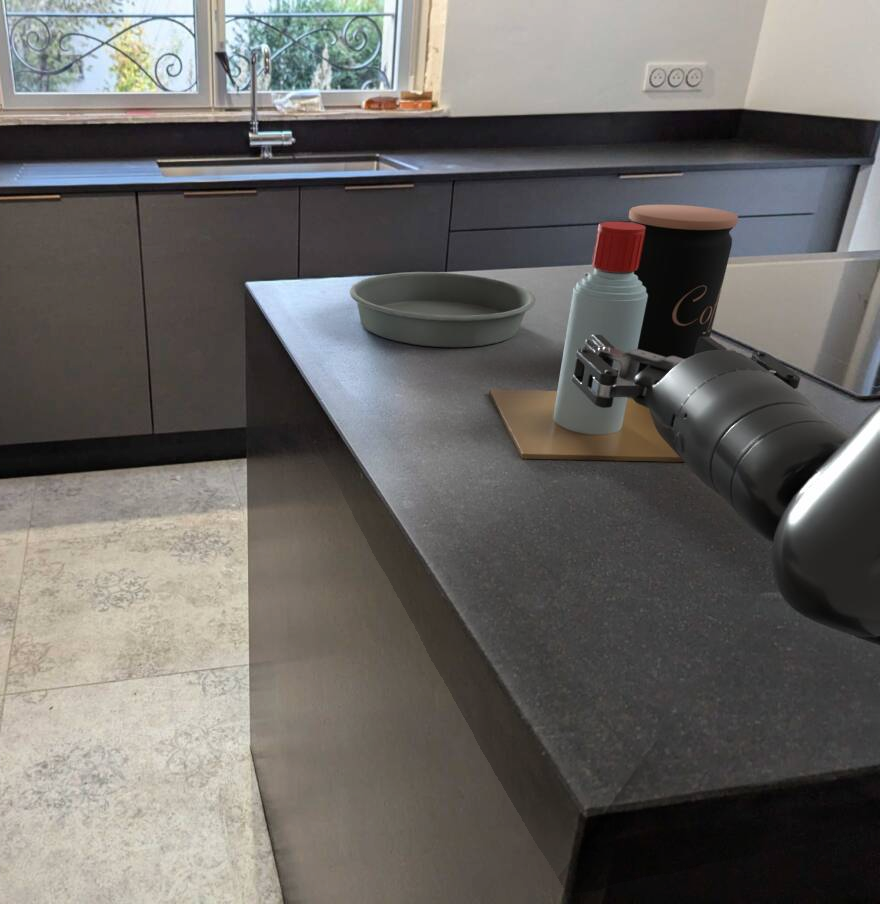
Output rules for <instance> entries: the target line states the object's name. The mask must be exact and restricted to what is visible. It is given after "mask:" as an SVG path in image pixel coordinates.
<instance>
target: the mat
mask: <svg viewBox="0 0 880 904" xmlns="http://www.w3.org/2000/svg"><path fill="white" fill-rule="evenodd" d="M488 395H489V396H490V399H491V400H492V403H493V404H494V405H493V406H495V408H496V410H497V413H498V414H499V417H500V418H501V420H502V422H503V425H504V426H505V428H506V430H507V432H508V434H509V436H510V438H511V440H512V443H513V444H514V446H515V448H516V449H517V452H518V454H519V456H520V457H521V459H522V460H524V459H525V460H526V459H527V460H528V459H529V460H570V461H571V460H572V461H574V460H575V461H577V460H578V461H617V462H618V461H621V462H623V461H624V462H669V463H673V462H674V463H676V462H677V463H685V462H684V461H683V460H682V459H681V458H680V457H679V456H678V454H677V453H676V452H675V451H674V450H673V449H672V448H671V447H670V446H669V445H668V443H667V442H666V441H665V440H664V439H663V438H662V437H661V436H660V434H659V433H658V431H657V429H656V427H655V425H654V422H653V419H652V417H651V414H650V411H649V409H648V408H647V407H645V406H643V405H640V404H638V403H636V402H635V401H634V400H633V399H630V398H627V403H626V408H625V413H624V418H623V423H622V427H621V429H620V430H619V431H617V432H615V433H611V434H605V435H592V434H584V433H578V432H574V431H571V430H568V429H566V428H563V427H561V426H560V425H558V424H557V423H556V422H555V421H554V419H553V416H554V409H555V403H556V397H557V390H521V389H520V390H518V389H517V390H516V389H489V390H488Z"/></svg>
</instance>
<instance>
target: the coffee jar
mask: <svg viewBox="0 0 880 904" xmlns="http://www.w3.org/2000/svg"><path fill="white" fill-rule="evenodd" d="M628 218H629V219H630V223H636V224H640V225H643V226H645V227H646V229H645V237H644V242H643V247H642V252H641V258H640V263H639V267H638V269H637V270H636V271H634V274H635V275H637V276H638V280H640V281H641V282H642V286H644V287H645V288H646V293H647V294H648V298H647V303H646V308H645V313H644V318H643V323H642V328H641V333H640V338H639V343H638V348H637V349H640V350H644V351H647V352H650V353H654V354H657V355H661V356H664V357H669V356H676V357H680V358H683V359H687V358H689V357H691V356H693V355H694V353H695V348H696V344H697V340H698V338H699V337H710V338H711V334H712V331H713V330H712V329H713V326H714V321H715V318H716V313H717V309H718V304H719V300H720V297H721V294H722V288H723V284H724V279H725V276H726V272H727V267H728V263H729V258H730V255H731V250H732V247H733V237H732V236H731V234H730V232H731V231H732V230H733V228H735V227H736V226H737V223H738V220H739V215H738V214H737V213H734V212H731V211H728V210H724V209H719V208H713V207H705V206H697V205H684V204H683V205H682V204H643V205H637V206H633V207H631V208H630V209H629V212H628ZM647 366H648V364H644V363H641V362H640V364H639V369H638V373H640V372H641V371H642V370H643V369H644V368H645V367H647Z"/></svg>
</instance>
